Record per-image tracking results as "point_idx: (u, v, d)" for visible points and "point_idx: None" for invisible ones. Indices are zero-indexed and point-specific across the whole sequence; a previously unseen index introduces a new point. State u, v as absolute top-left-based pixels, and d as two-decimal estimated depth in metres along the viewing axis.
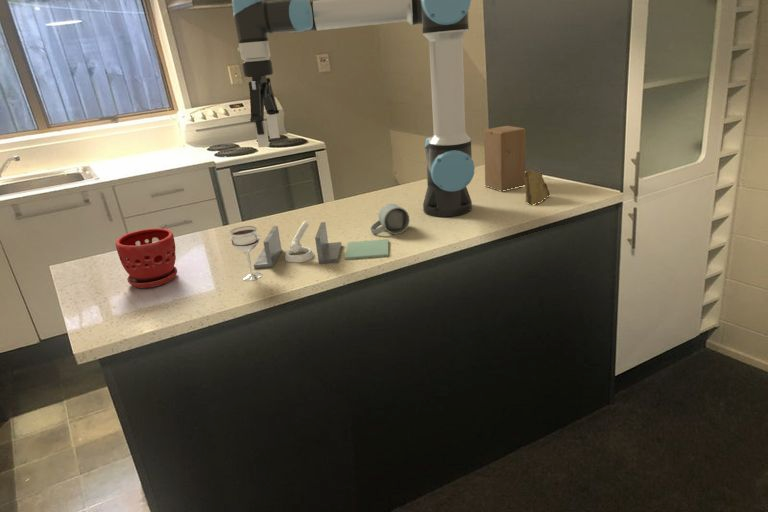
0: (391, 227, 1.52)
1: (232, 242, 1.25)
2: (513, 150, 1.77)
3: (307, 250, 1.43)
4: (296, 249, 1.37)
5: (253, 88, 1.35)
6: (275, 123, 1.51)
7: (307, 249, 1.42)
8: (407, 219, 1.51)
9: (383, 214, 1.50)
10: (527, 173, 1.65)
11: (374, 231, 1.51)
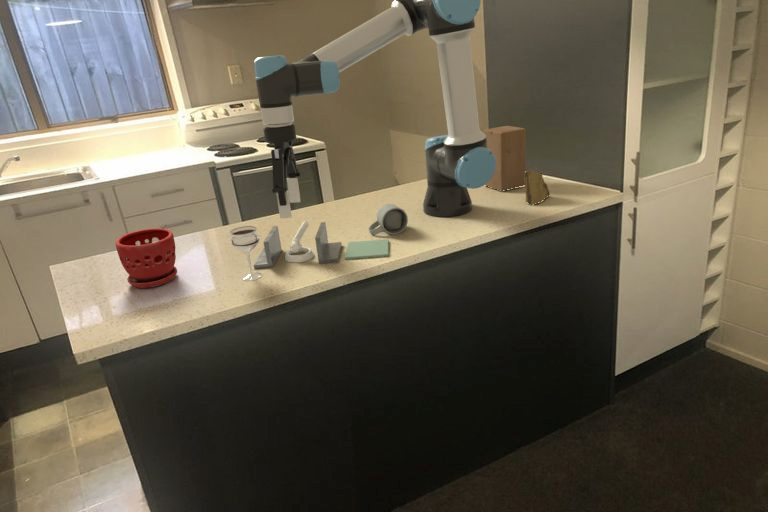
0: (389, 227, 1.52)
1: (232, 242, 1.25)
2: (513, 150, 1.77)
3: (307, 250, 1.43)
4: (296, 249, 1.37)
5: (276, 157, 1.24)
6: (296, 187, 1.40)
7: (307, 249, 1.42)
8: (405, 219, 1.51)
9: (381, 214, 1.50)
10: (527, 173, 1.65)
11: (372, 231, 1.51)
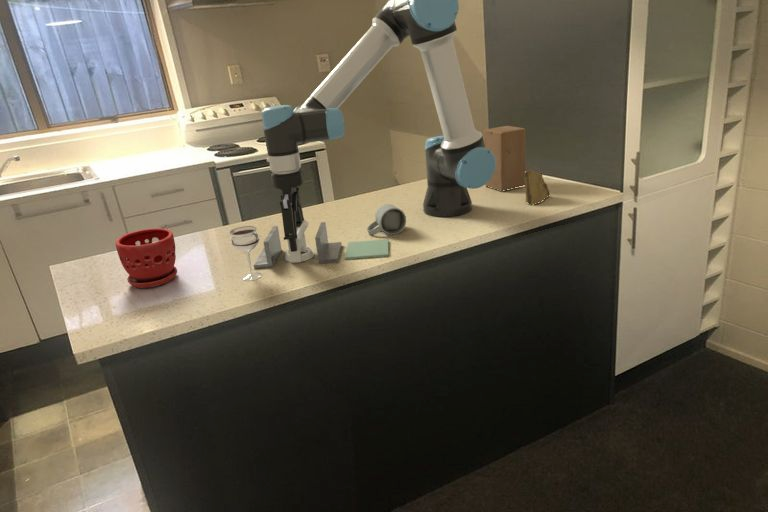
0: (388, 228, 1.51)
1: (232, 242, 1.25)
2: (513, 150, 1.77)
3: (307, 250, 1.43)
4: None
5: (285, 207, 1.29)
6: (302, 236, 1.43)
7: (307, 249, 1.42)
8: (404, 220, 1.51)
9: (380, 215, 1.50)
10: (527, 173, 1.65)
11: (371, 232, 1.51)
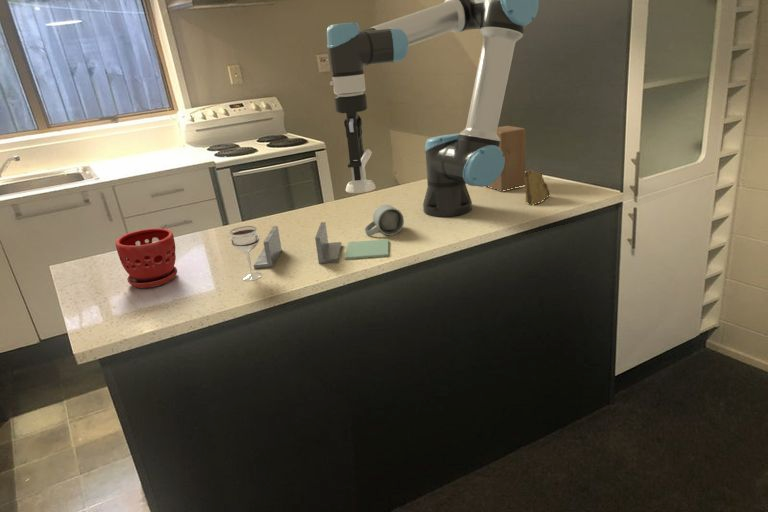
0: (385, 228, 1.51)
1: (232, 242, 1.25)
2: (513, 150, 1.77)
3: (368, 183, 1.37)
4: None
5: (351, 131, 1.23)
6: (363, 168, 1.37)
7: (368, 181, 1.36)
8: (401, 220, 1.51)
9: (377, 215, 1.49)
10: (527, 173, 1.65)
11: (368, 232, 1.50)
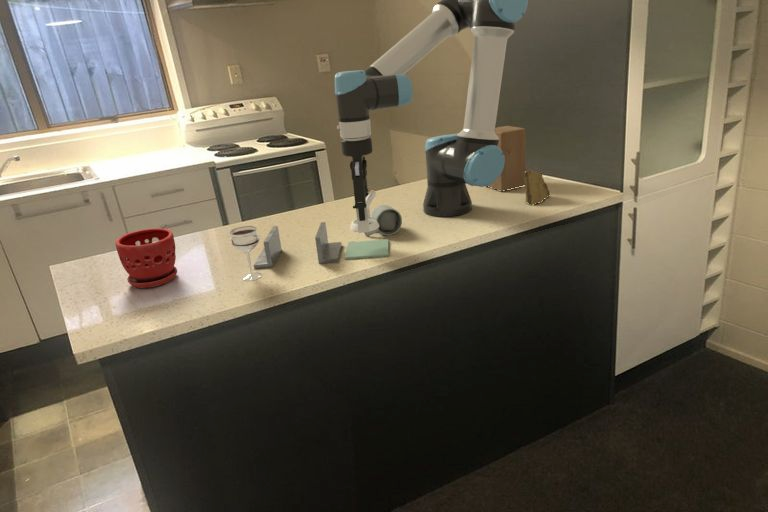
0: (384, 228, 1.51)
1: (232, 242, 1.25)
2: (513, 150, 1.77)
3: (372, 221, 1.41)
4: None
5: (356, 174, 1.27)
6: None
7: (372, 220, 1.40)
8: (400, 220, 1.51)
9: (375, 215, 1.49)
10: (527, 173, 1.65)
11: (366, 232, 1.50)
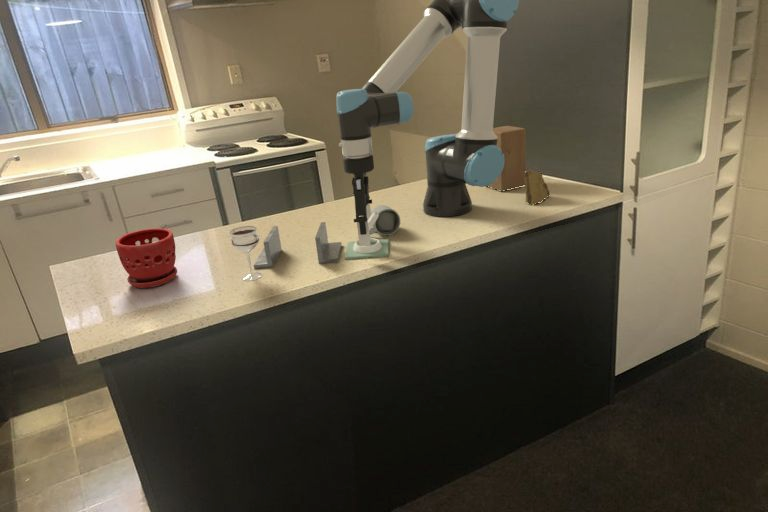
0: (382, 229, 1.51)
1: (232, 242, 1.25)
2: (513, 150, 1.77)
3: (374, 241, 1.43)
4: None
5: (358, 188, 1.28)
6: (368, 214, 1.44)
7: (374, 240, 1.42)
8: (398, 221, 1.51)
9: None
10: (527, 173, 1.65)
11: None
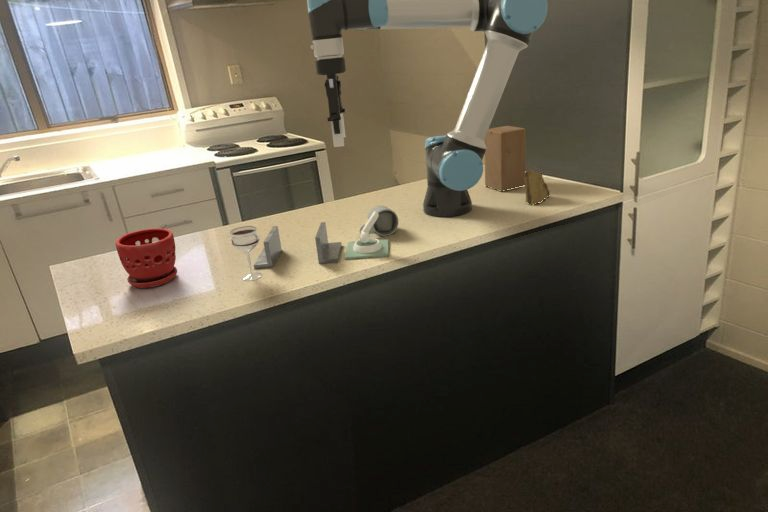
0: (380, 229, 1.51)
1: (232, 242, 1.25)
2: (513, 150, 1.77)
3: (374, 242, 1.43)
4: (366, 240, 1.37)
5: (330, 86, 1.31)
6: (342, 122, 1.47)
7: (374, 240, 1.42)
8: (396, 221, 1.50)
9: None
10: (527, 173, 1.65)
11: None
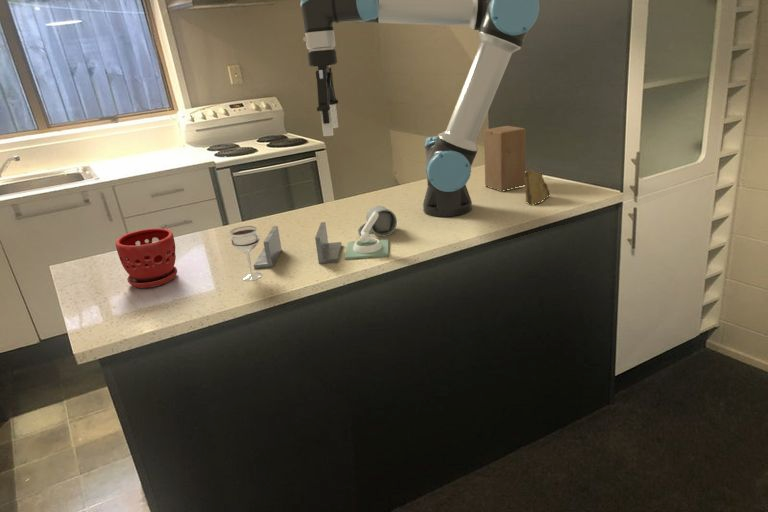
0: (378, 229, 1.51)
1: (232, 242, 1.25)
2: (513, 150, 1.77)
3: (374, 242, 1.43)
4: (366, 240, 1.37)
5: (320, 77, 1.35)
6: (334, 113, 1.52)
7: (374, 240, 1.42)
8: (394, 221, 1.50)
9: (370, 216, 1.49)
10: (527, 173, 1.65)
11: None
